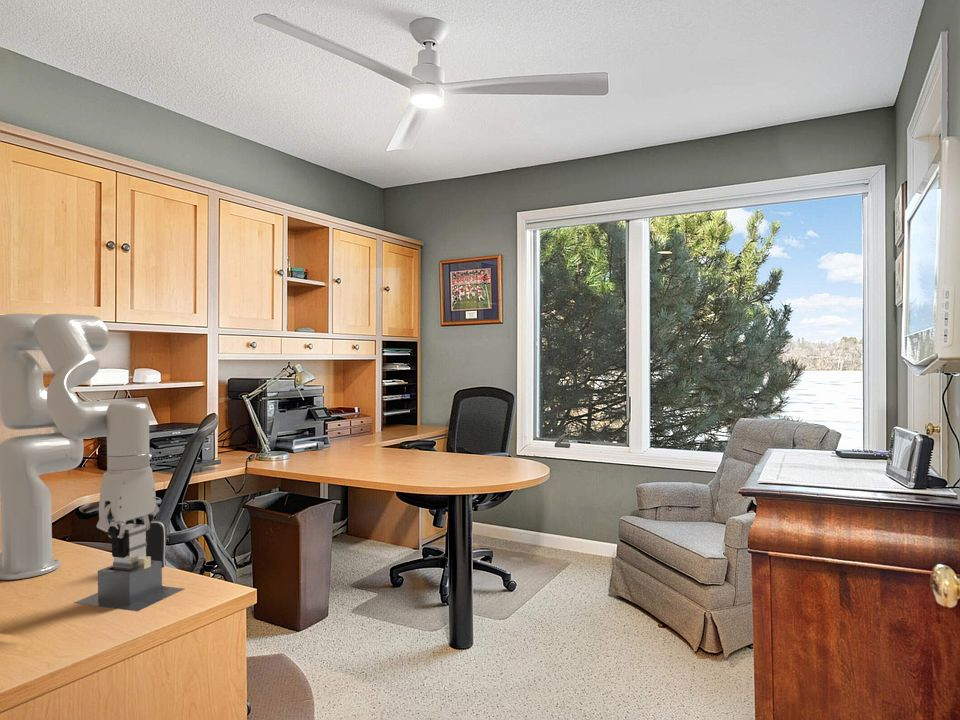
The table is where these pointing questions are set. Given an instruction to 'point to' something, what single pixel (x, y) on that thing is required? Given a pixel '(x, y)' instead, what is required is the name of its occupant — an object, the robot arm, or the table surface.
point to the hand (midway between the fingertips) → (130, 552)
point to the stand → (130, 587)
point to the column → (132, 548)
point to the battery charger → (157, 541)
